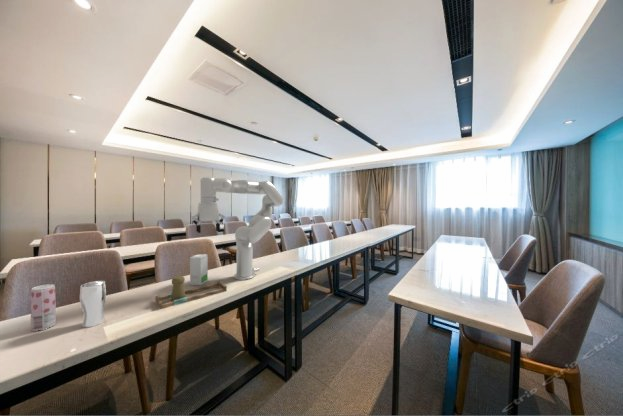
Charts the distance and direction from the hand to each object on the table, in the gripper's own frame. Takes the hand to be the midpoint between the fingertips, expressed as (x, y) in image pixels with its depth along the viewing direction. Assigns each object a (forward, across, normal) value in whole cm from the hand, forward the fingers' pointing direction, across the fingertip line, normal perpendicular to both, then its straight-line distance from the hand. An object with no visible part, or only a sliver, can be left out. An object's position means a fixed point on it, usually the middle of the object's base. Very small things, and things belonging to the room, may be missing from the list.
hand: (208, 231), depth 117 cm
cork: (+30, +16, +7) cm, 35 cm away
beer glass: (+30, +44, +8) cm, 54 cm away
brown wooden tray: (+30, +10, +7) cm, 32 cm away
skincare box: (+30, +2, -10) cm, 32 cm away
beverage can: (+30, +57, 0) cm, 65 cm away
